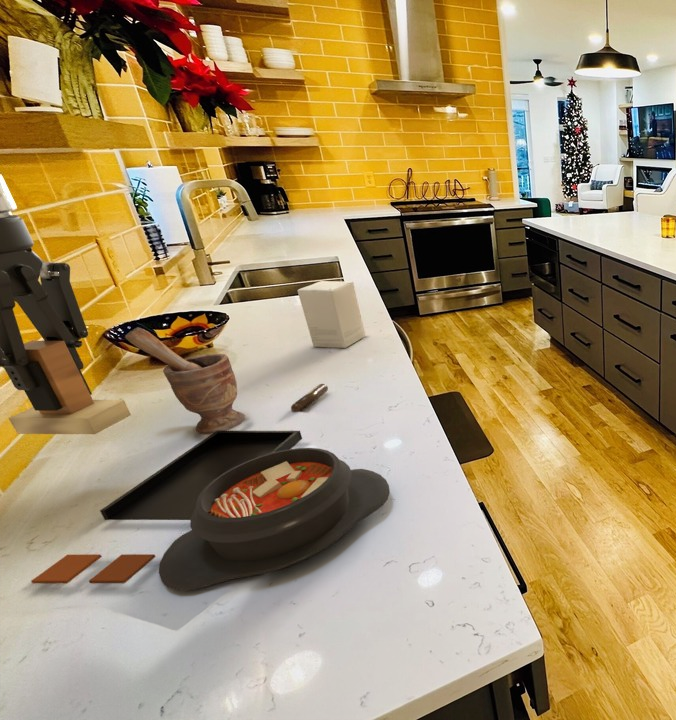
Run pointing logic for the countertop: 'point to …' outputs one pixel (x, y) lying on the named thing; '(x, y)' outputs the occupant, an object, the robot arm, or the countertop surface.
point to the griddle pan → (201, 470)
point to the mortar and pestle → (197, 382)
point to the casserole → (270, 516)
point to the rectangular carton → (332, 313)
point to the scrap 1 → (66, 568)
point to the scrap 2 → (122, 568)
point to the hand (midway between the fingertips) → (64, 401)
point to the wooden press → (66, 397)
